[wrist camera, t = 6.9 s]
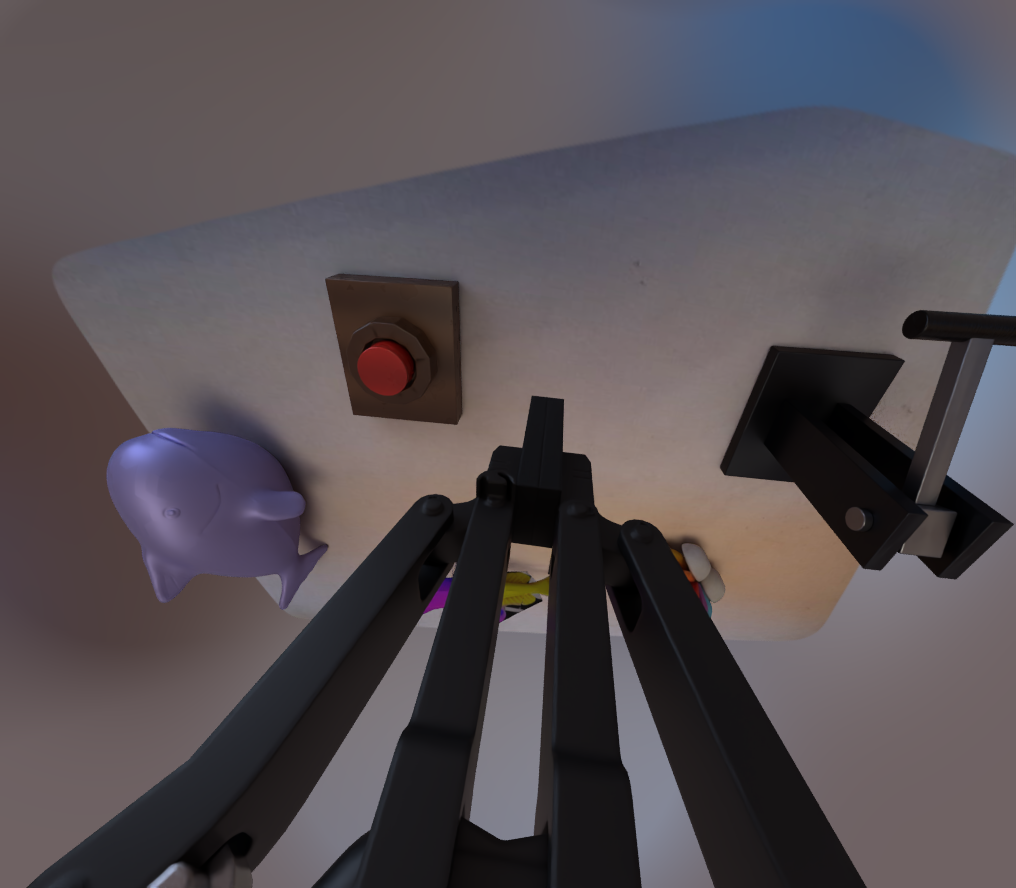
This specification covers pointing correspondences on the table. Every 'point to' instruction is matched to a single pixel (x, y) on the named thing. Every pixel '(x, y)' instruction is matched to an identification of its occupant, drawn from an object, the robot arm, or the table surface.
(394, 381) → the button
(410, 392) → the button block
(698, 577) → the fanned rainbow disc cluster
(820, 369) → the bracket
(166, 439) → the toy whale
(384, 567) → the robot arm
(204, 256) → the table surface
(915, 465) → the t-handle lever
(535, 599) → the toy
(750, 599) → the table surface
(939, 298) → the table surface
